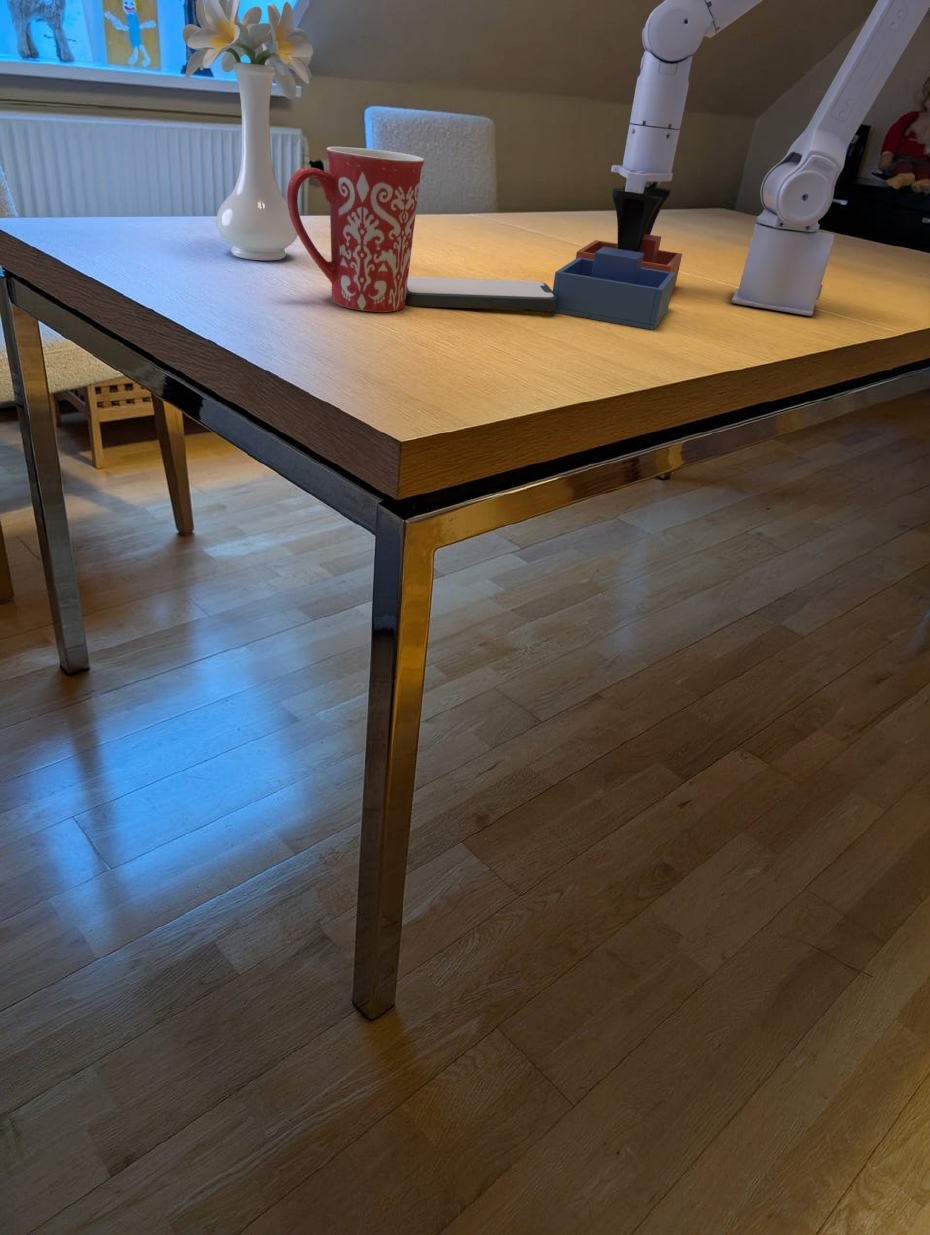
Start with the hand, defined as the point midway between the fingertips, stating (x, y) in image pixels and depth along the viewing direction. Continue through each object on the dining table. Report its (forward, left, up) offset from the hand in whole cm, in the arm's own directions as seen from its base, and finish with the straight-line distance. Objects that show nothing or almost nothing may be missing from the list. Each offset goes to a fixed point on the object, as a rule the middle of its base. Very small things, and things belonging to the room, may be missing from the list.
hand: (630, 253), depth 107 cm
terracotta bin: (0, 0, -4) cm, 4 cm away
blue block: (-1, +15, -3) cm, 15 cm away
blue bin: (-1, +15, -4) cm, 16 cm away
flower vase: (+41, +18, -4) cm, 45 cm away
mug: (+22, +32, -4) cm, 39 cm away
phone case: (+12, +22, -4) cm, 26 cm away
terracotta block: (-1, 0, -3) cm, 3 cm away
